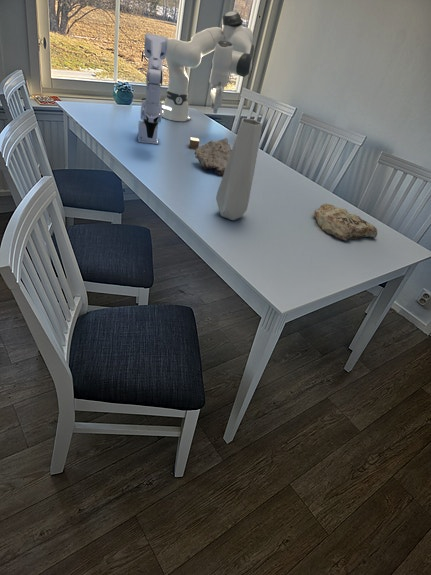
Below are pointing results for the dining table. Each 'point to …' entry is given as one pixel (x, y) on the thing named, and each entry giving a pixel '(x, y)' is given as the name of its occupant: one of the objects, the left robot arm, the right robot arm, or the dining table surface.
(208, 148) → the rock
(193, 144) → the block
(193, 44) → the right robot arm
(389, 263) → the dining table surface
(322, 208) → the stone
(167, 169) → the dining table surface
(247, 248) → the dining table surface
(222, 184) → the vase
